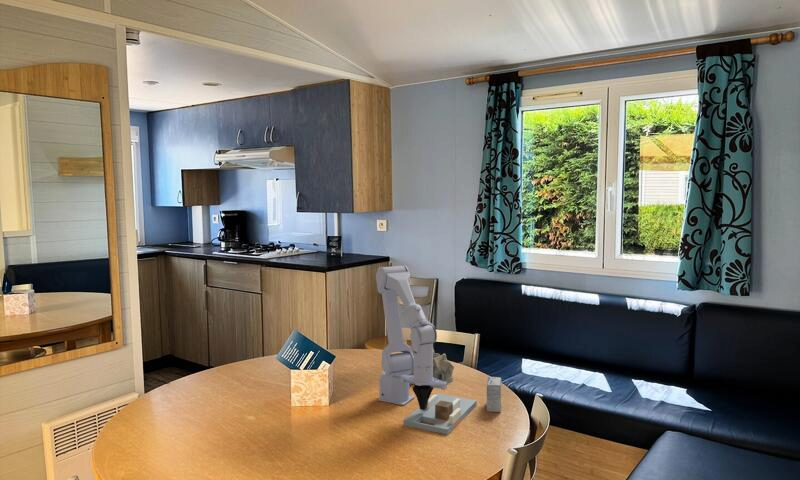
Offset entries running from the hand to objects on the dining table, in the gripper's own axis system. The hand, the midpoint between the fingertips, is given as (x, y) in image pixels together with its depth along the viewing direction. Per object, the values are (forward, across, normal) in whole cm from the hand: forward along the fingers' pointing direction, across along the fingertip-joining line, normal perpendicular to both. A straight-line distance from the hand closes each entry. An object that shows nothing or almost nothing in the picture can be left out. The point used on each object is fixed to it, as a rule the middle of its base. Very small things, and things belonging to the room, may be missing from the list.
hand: (423, 408), depth 168 cm
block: (+1, +7, 0) cm, 7 cm away
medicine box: (+3, +16, +18) cm, 24 cm away
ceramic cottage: (+3, -13, +32) cm, 34 cm away
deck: (+3, +4, +5) cm, 7 cm away
